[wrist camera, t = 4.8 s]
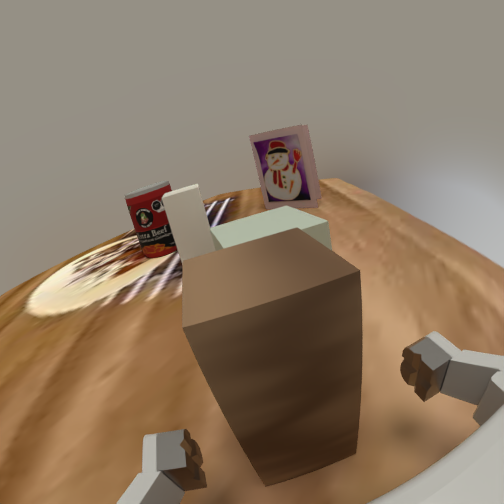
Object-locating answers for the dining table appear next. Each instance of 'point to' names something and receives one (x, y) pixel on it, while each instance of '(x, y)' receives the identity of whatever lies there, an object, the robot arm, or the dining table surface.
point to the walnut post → (280, 348)
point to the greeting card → (286, 167)
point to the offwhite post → (188, 222)
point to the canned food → (151, 219)
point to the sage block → (270, 227)
